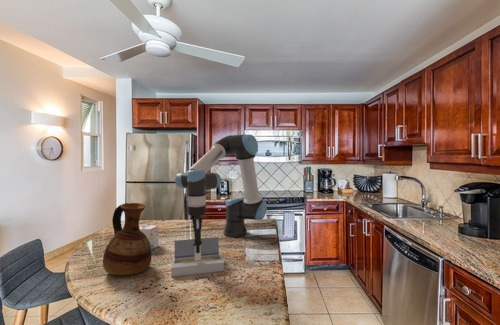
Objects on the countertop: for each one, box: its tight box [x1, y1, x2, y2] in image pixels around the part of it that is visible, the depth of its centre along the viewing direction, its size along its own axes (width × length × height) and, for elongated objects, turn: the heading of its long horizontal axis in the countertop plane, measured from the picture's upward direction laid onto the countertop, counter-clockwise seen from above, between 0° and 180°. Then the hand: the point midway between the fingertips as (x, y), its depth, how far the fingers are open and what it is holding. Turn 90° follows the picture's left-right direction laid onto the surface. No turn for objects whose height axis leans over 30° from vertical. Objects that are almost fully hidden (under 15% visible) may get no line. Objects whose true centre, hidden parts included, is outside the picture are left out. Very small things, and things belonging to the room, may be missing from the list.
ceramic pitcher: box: [102, 202, 153, 276], centre depth 119 cm, size 20×20×30 cm
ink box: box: [139, 222, 159, 251], centre depth 150 cm, size 9×8×13 cm
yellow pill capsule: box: [181, 258, 213, 263], centre depth 122 cm, size 15×3×3 cm
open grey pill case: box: [170, 251, 225, 278], centre depth 121 cm, size 22×14×4 cm, turn 103°
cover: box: [174, 236, 220, 259], centre depth 125 cm, size 20×8×1 cm
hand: (197, 259), depth 117 cm, fingers closed
